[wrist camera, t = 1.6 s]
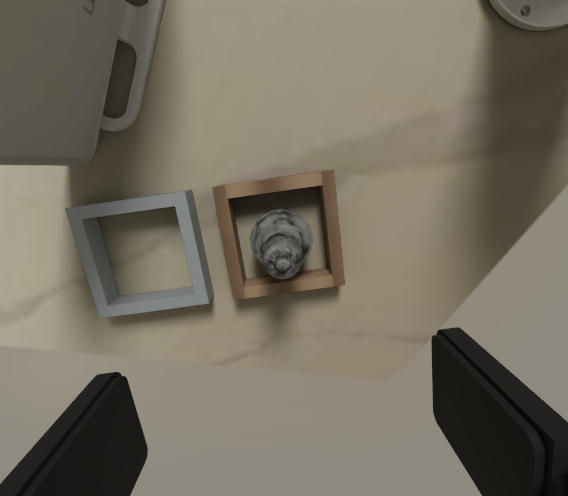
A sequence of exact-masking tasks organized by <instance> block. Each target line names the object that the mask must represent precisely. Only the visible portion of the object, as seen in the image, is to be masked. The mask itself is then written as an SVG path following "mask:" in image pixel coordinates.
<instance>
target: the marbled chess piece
mask: <svg viewBox="0 0 568 496" xmlns="http://www.w3.org/2000/svg"><path fill="white" fill-rule="evenodd" d="M250 241H251V248H252V250H253V253H254V255H255V256H256V258H257V259H258V260H259V261H260V262H261V263H262V264H263V265H264V267H265V269H266V271H267V272H268V273H269V274H270V275H271V276H273V277H275V278H279V279H287V278H290V277H292V276H294V275H295V274H296V273H297V272H298V271H299V269H300V267H301V263H303V261H304V260H305V259H306V258H307V257H308V255H309V253H310V251H311V248H312V244H313V237H312V232H311V229H310V226H309V225H308V223H307V222H306V220H305V219H304V218H303V217H301V216H300V215H299V214H297V213H296V212H294V211H292V210H290V209H286V208H276V209H273V210H270V211H269V212H267V213H266V214H264V215H263V216H262V217H260V218H259V220H258V221H257V222H256V223H255V225H254V227H253V229H252V232H251V238H250Z"/></svg>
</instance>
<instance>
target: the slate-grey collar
mask: <svg viewBox="0 0 568 496" xmlns="http://www.w3.org/2000/svg"><path fill="white" fill-rule="evenodd" d="M172 206H175V208H176V212H177V217H178V221H179V226H180V230H181V235H182V239H183V244H184V248H185V252H186V257H187V261H188V266H189V270H190V275H191V279H192V284H193V286H192V287H185V288H178V289H170V290H163V291H156V292H149V293H141V294H134V295H127V296H120V295H119V292H118V289H117V285H116V282H115V278H114V275H113V271H112V268H111V264H110V261H109V257H108V254H107V250H106V247H105V244H104V240H103V237H102V233H101V230H100V226H99V223H98V219H97V217H102V216H109V215H116V214H123V213H130V212H137V211H144V210H151V209H158V208H165V207H172ZM66 213H67V216H68V219H69V222H70V225H71V229H72V232H73V235H74V238H75V241H76V245H77V248H78V251H79V254H80V257H81V261H82V264H83V267H84V270H85V273H86V277H87V280H88V283H89V286H90V289H91V293H92V296H93V299H94V302H95V306H96V309H97V312H98V315H99V318H106V317H114V316H121V315H128V314H136V313H143V312H150V311H158V310H165V309H172V308H180V307H187V306H194V305H202V304H209V302H210V300H211V298H212V297H213V295H214V293H213V288H212V283H211V278H210V273H209V269H208V264H207V259H206V254H205V249H204V245H203V240H202V235H201V230H200V226H199V221H198V216H197V211H196V206H195V202H194V197H193V192H192V190H186V191H179V192H172V193H165V194H158V195H151V196H144V197H137V198H130V199H123V200H116V201H109V202H103V203H96V204H89V205H82V206H76V207H71V208H66Z"/></svg>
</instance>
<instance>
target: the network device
mask: <svg viewBox="0 0 568 496" xmlns="http://www.w3.org/2000/svg"><path fill="white" fill-rule="evenodd" d="M164 1H165V0H149V1H148V2H147V3H146V4H145V5H143V6H140V7H136V6H134V5H132V4H130V3H128V2H127V1H126V0H0V165H63V166H83V165H86V164H87V163H89V162H90V161H91V159H92V158H93V156H94V153H95V150H96V146H97V141H98V136H99V131H100V129H103V130H107V131H121V130H124V129H126V128H128V127H130V126H131V125H132V124H133V123H134V122H135V121H136V119H137V117H138V115H139V112H140V109H141V104H142V100H143V95H144V91H145V86H146V82H147V78H148V73H149V69H150V64H151V60H152V55H153V51H154V46H155V42H156V37H157V33H158V28H159V24H160V19H161V15H162V10H163V6H164ZM117 40H119V41H122V42H125V43H127V44H130V45H132V47H133V48H134V50H135V51H136V55H137V61H136V66H135V71H134V75H133V80H132V85H131V89H130V94H129V99H128V103H127V108H126V112H125V113H124V115H123V116H122V117H120V118H117V119H113V118H110V117H107V116H104V115H103V110H104V105H105V100H106V95H107V90H108V85H109V80H110V75H111V70H112V65H113V60H114V55H115V50H116V45H117Z"/></svg>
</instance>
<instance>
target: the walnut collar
mask: <svg viewBox="0 0 568 496" xmlns="http://www.w3.org/2000/svg"><path fill="white" fill-rule="evenodd" d="M313 186H319V187H320V196H321V205H322V214H323V223H324V232H325V242H326V251H327V260H328V268H323V269H316V270H309V271H302V272H297V273H296V274H295V275H294V276H292V277H290V278H287V279H279V278H275V277H273V276H265V277H258V278H251V279H246V275H245V270H244V264H243V259H242V253H241V248H240V242H239V236H238V231H237V225H236V220H235V214H234V208H233V203H232V198H235V197H242V196H249V195H256V194H263V193H270V192H277V191H284V190H292V189H299V188H306V187H313ZM213 193H214V199H215V204H216V209H217V214H218V219H219V225H220V230H221V235H222V240H223V245H224V251H225V256H226V261H227V266H228V271H229V277H230V282H231V287H232V292H233V297H234V300H238V299H246V298H253V297H260V296H268V295H275V294H282V293H290V292H297V291H304V290H312V289H319V288H326V287H334V286H341V285H345V278H344V268H343V258H342V247H341V237H340V227H339V216H338V206H337V196H336V185H335V175H334V170H326V171H319V172H312V173H305V174H298V175H291V176H284V177H277V178H270V179H263V180H256V181H249V182H242V183H235V184H228V185H221V186H216V187H213Z"/></svg>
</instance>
